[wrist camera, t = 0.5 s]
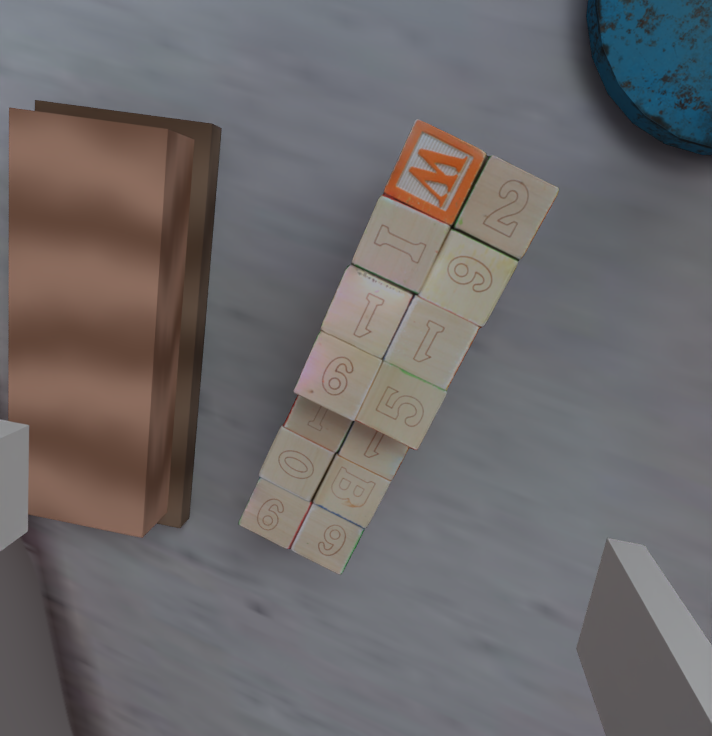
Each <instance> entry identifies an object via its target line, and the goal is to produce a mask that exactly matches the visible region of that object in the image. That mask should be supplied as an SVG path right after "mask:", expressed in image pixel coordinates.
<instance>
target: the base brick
mask: <svg viewBox="0 0 712 736" xmlns="http://www.w3.org/2000/svg"><path fill="white" fill-rule="evenodd" d="M220 140H221V128H220V127H218V126H216V125H214V124H210V123H203V122H195V121H188V120H180V119H173V118H165V117H158V116H151V115H143V114H136V113H128V112H121V111H113V110H106V109H98V108H91V107H83V106H76V105H68V104H61V103H53V102H46V101H38V100H35V111H31V110H24V109H16V108H9V405H8V421H11V422H16V423H21V424H26V425H29V476H28V514H29V515H34V516H39V517H44V518H49V519H53V520H58V521H63V522H68V523H73V524H78V525H82V526H87V527H92V528H97V529H102V530H107V531H112V532H116V533H121V534H126V535H131V536H136V537H141V538H143V537H144V536H145V535H146V534H147V533H148V531H149V530H150V529H151V528H152V527H153V526H154V525H155V524H156V523H157V524H162V525H167V526H172V527H177V528H181V527H182V526H183V525H184V523H185V522H186V521H187V520H188V519H189V514H190V502H191V490H192V478H193V466H194V454H195V442H196V430H197V418H198V406H199V394H200V382H201V370H202V358H203V345H204V333H205V321H206V309H207V297H208V285H209V273H210V261H211V249H212V237H213V225H214V213H215V201H216V188H217V176H218V164H219V152H220Z"/></svg>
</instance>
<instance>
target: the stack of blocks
mask: <svg viewBox="0 0 712 736" xmlns="http://www.w3.org/2000/svg"><path fill="white" fill-rule="evenodd" d="M558 192H559V188H558V187H556V186H554V185H552V184H550V183H547V182H545V181H543V180H541V179H539V178H537V177H535V176H533V175H532V174H530V173H528V172H526V171H524V170H522V169H520V168H518V167H516V166H514V165H512V164H510V163H508V162H506V161H504V160H502V159H500V158H498V157H496V156H494V155H492V156H487V155H486V153H485V152H484V151H482V150H480V149H479V148H477V147H475V146H473V145H471V144H469V143H467V142H465V141H463V140H461V139H459V138H457V137H455V136H453V135H451V134H448V133H446V132H444V131H442V130H440V129H438V128H436V127H434V126H432V125H430V124H428V123H426V122H423V121H421V120H416V121H415V123H414V125H413V127H412V129H411V131H410V134H409V136H408V138H407V140H406V143H405V145H404V147H403V149H402V152H401V154H400V156H399V158H398V160H397V163H396V165H395V167H394V169H393V171H392V173H391V176H390V178H389V180H388V182H387V184H386V186H385V189H384V193H383V195H381V196H380V197H379V199H378V201H377V203H376V206H375V208H374V210H373V213H372V215H371V217H370V220H369V222H368V224H367V226H366V229H365V231H364V233H363V236H362V238H361V240H360V243H359V245H358V247H357V250H356V252H355V254H354V257H353V259H352V263H351V265H349V266H348V267H347V268H346V269H345V272H344V274H343V276H342V278H341V280H340V283H339V286H338V288H337V290H336V292H335V295H334V297H333V299H332V301H331V304H330V306H329V308H328V311H327V313H326V315H325V318H324V320H323V322H322V325H321V330H320V332H319V334H318V336H317V338H316V340H315V342H314V345H313V347H312V349H311V352H310V354H309V356H308V358H307V361H306V363H305V365H304V367H303V370H302V372H301V374H300V377H299V379H298V381H297V384H296V386H295V388H294V392H293V393H295V394H298V396H297V398H296V400H295V402H294V404H293V406H292V409H291V411H290V413H289V415H288V417H287V419H286V421H285V422H284V423H283V425H282V426H281V427H280V429H279V431H278V433H277V435H276V437H275V439H274V441H273V444H272V446H271V448H270V450H269V452H268V454H267V456H266V459H265V461H264V463H263V465H262V468H261V470H260V472H259V480H258V482H257V484H256V486H255V488H254V490H253V493H252V495H251V497H250V499H249V501H248V503H247V505H246V508H245V510H244V512H243V514H242V516H241V518H240V520H239V522H238V524H239V525H240V526H242V527H244V528H246V529H248V530H250V531H252V532H254V533H256V534H258V535H260V536H262V537H264V538H266V539H268V540H270V541H272V542H273V543H275V544H277V545H279V546H281V547H283V548H285V549H291V550H292V551H294V552H295V553H297V554H299V555H301V556H303V557H305V558H307V559H309V560H311V561H313V562H315V563H317V564H319V565H321V566H323V567H325V568H327V569H329V570H331V571H333V572H335V573H337V574H339V575H341V574H342V572H343V571H344V569H345V567H346V565H347V563H348V561H349V559H350V557H351V555H352V553H353V551H354V549H355V548H356V546H357V544H358V542H359V540H360V538H361V536H362V534H363V531H364V529H365V528H367V526H368V525H369V523H370V521H371V519H372V517H373V515H374V513H375V511H376V510H377V508H378V506H379V504H380V502H381V500H382V498H383V496H384V494H385V493H386V491H387V489H388V487H389V485H390V483H391V481H392V479H393V478H394V476H395V475H396V472H397V470H398V469H399V467H400V465H401V463H402V461H403V459H404V457H405V455H406V453H407V451H408V449H409V448H411V449H414V450H418V448H419V446H420V444H421V442H422V440H423V438H424V437H425V435H426V433H427V431H428V429H429V427H430V425H431V423H432V421H433V419H434V417H435V415H436V414H437V412H438V410H439V408H440V406H441V404H442V402H443V400H444V398H445V397H446V395H447V388H448V387H449V385H450V383H451V381H452V379H453V378H454V376H455V374H456V372H457V370H458V368H459V366H460V364H461V363H462V361H463V359H464V357H465V355H466V353H467V351H468V349H469V348H470V346H471V344H472V342H473V340H474V338H475V336H476V334H477V332H478V330H479V328H482V327H484V325H485V324H486V322H487V320H488V318H489V317H490V315H491V313H492V311H493V309H494V307H495V305H496V304H497V302H498V300H499V298H500V296H501V294H502V292H503V290H504V289H505V287H506V285H507V283H508V281H509V280H510V278H511V276H512V274H513V272H514V271H515V269H516V267H517V264H518V261H519V260H520V259H521V258H522V257H523V256H524V254H525V252H526V251H527V249H528V247H529V245H530V243H531V242H532V240H533V238H534V236H535V234H536V233H537V231H538V229H539V227H540V225H541V224H542V222H543V220H544V218H545V217H546V215H547V213H548V211H549V209H550V208H551V206H552V204H553V202H554V200H555V198H556V197H557V194H558Z"/></svg>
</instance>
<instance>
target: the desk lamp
mask: <svg viewBox="0 0 712 736" xmlns="http://www.w3.org/2000/svg"><path fill="white" fill-rule="evenodd" d="M586 17H587V24H588V31H589V38H590V45H591V53H592V58H593V61H594V63H595V65H596V68H597V70H598V72H599V74H600V77H601V79H602V81H603V84H604V86H605V88H606V90H607V93H608V94H609V96H610V97H611V98H612V99H613V100H614V102H615V103H616V104H617V105H618V106H619V108H620V109H621V110H622V111H623V112H624V113H625V115H626V116H627V117H628V118H629V119H630V121H631V122H632V123H633V124H635V125H636V126H638V127H640V128H641V129H643V130H644V131H646V132H647V133H649V134H650V135H652V136H653V137H655V138H656V139H658V140H660V141H661V142H663V143H664V144H667V145H671V146H674V147H677V148H681V149H684V150H688V151H691V152H694V153H698V154H701V155H712V0H588V7H587V16H586Z"/></svg>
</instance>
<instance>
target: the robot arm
mask: <svg viewBox="0 0 712 736" xmlns="http://www.w3.org/2000/svg"><path fill="white" fill-rule="evenodd" d="M28 476H29V425H26V424H21V423H16V422H11V421H6V420H0V551H1V550H3V549H4V548H5V547H7V546H8V545H10V544H11V543H12V542H14V541H15V540H16V539H18V538H19V537H21V536H22V535H23V534H25V533H26V532H28ZM576 649H577V652H578V655H579V658H580V661H581V664H582V667H583V670H584V673H585V676H586V679H587V682H588V685H589V687H590V690H591V693H592V696H593V699H594V702H595V705H596V708H597V711H598V714H599V717H600V720H601V723H602V726H603V729H604V732H605V735H606V736H712V645H711V644H710V642H709V641H708V639H707V638H706V636H705V635H704V633H703V632H702V630H701V629H700V627H699V626H698V624H697V623H696V621H695V620H694V618H693V617H692V615H691V614H690V612H689V611H688V609H687V608H686V607H685V605H684V604H683V602H682V601H681V599H680V598H679V596H678V595H677V593H676V592H675V590H674V589H673V587H672V586H671V584H670V583H669V581H668V580H667V578H666V577H665V575H664V574H663V572H662V571H661V569H660V568H659V566H658V565H657V563H656V562H655V560H654V559H653V557H652V556H651V554H650V553H649V551H648V550H647V548H646V547H645V545H640V544H635V543H630V542H625V541H620V540H615V539H610V538H607V540H606V544H605V547H604V551H603V555H602V558H601V562H600V565H599V569H598V573H597V576H596V580H595V583H594V587H593V590H592V594H591V598H590V601H589V605H588V608H587V612H586V616H585V619H584V623H583V626H582V630H581V633H580V637H579V641H578V644H577V648H576Z"/></svg>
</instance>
